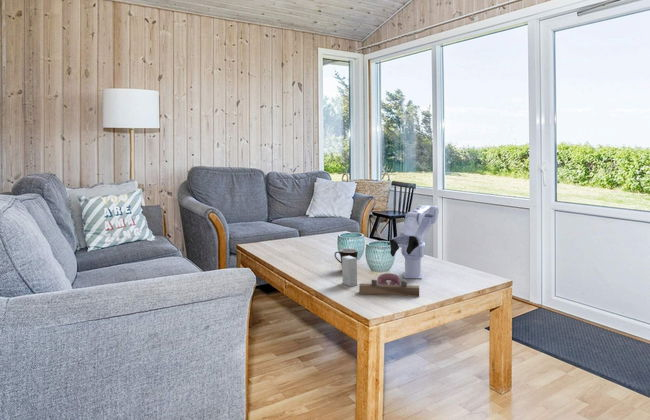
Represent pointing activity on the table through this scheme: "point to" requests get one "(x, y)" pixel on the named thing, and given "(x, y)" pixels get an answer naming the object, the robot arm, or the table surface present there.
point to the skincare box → (349, 270)
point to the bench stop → (389, 289)
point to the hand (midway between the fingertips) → (399, 253)
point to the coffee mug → (347, 253)
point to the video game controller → (389, 276)
